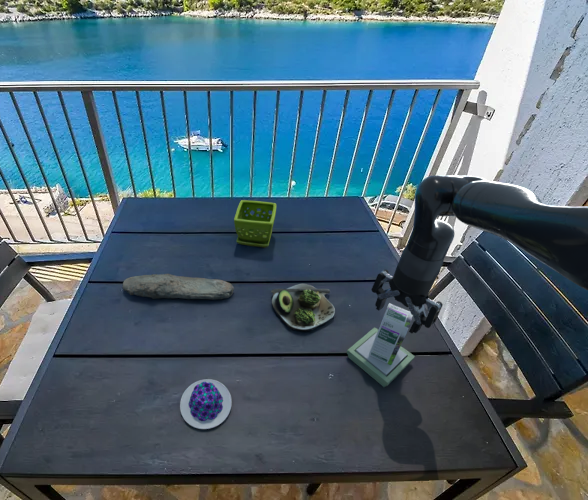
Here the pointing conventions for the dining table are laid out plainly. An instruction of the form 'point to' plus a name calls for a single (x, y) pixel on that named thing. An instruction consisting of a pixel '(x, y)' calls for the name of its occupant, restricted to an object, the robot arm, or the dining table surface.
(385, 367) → the pan
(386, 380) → the scale
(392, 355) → the syrup box
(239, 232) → the flower pot
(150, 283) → the elongated rock
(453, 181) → the robot arm
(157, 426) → the dining table surface
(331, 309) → the salad plate
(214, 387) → the pudding
